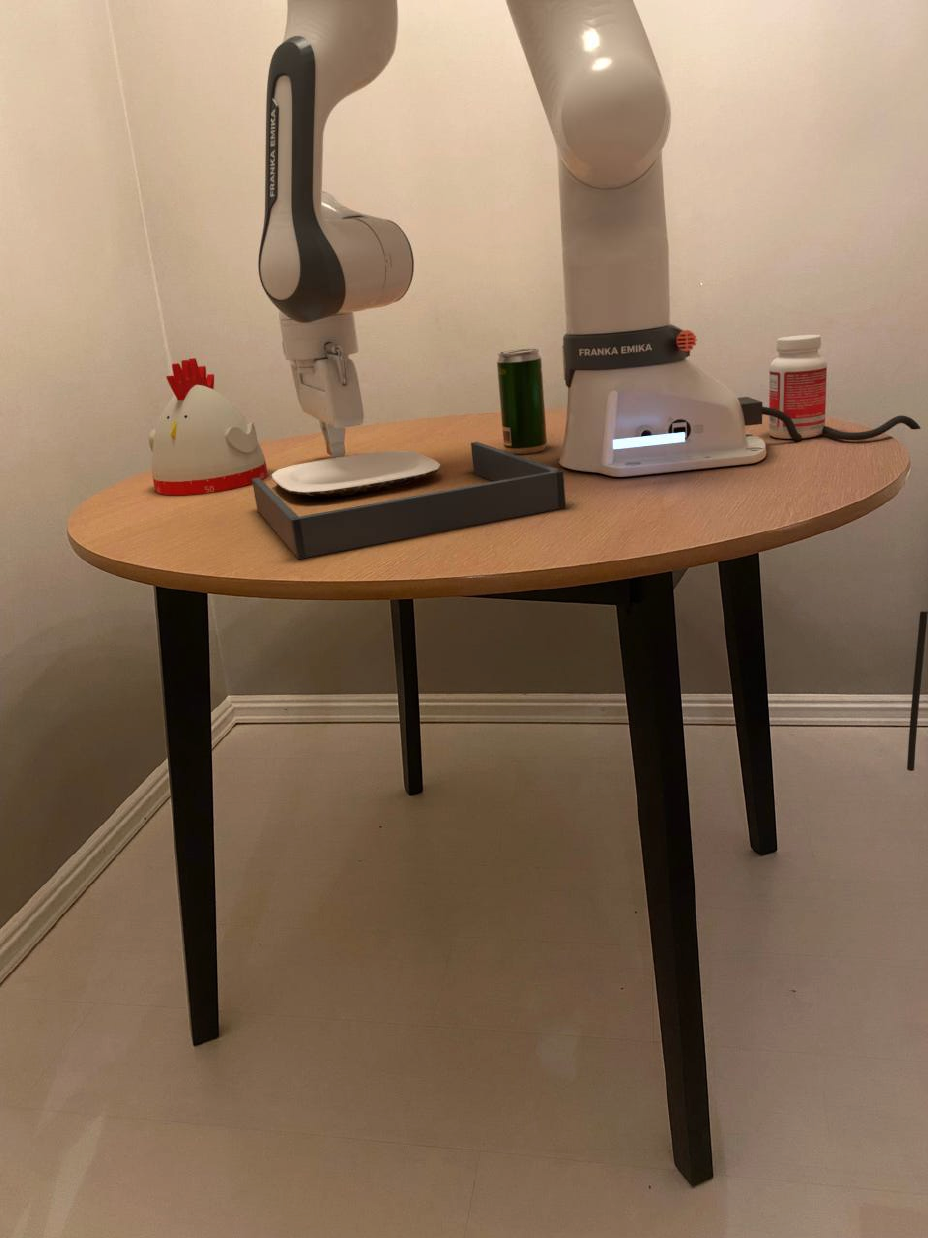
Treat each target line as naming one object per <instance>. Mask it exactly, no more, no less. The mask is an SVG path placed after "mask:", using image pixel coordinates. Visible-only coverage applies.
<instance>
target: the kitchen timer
mask: <svg viewBox="0 0 928 1238" xmlns="http://www.w3.org/2000/svg"><path fill="white" fill-rule="evenodd" d="M180 361H181V362H177V363H171V369H172V374H173V375H166V376H165V377H166V380H167V382H168V385H169V387H170V388H171V390H172V393H173V394H174V395H173V396H172V398H171V399H170V400H169V401H168V402H167V404H166V405H165V406H164V408H163V411H162V412H161V414H160V416H159V419H158V421H157V424H156V427H155V429H152V430H151V431H149V436H148V443H149V448H150V451H151V452H152V453H151V477H152V481H153V485H154V491H155V493H157V494H159V495H165V496H193V495H203V494H204V495H205V494H211V493H218V492H223V491H229V490H234V489H238V488H241V487H246V486H249V485H253V483H252V479H254V478H260V479H261V480H262V481H263V480H264V479H266V478H267V476H268V475H269V474H268V468H267V461H266V457H265V455H264V451H263V449H262V447H261V445H260V443H259V440H258V436H257V430H256V427H255V424H254V423H253V421H250V422H248V419H247V418H246V417H245V416H244V415H243V413H242V412H241V411H240V409H239V408H237V406H235V404H234V403H233V402H232V401H231V400H229V398H227V397H225V396H224V395H223V394H221V393H220V392H219V391H216V390H215V374H214V373H210V374H209V373H208V374H207V367H206V366H205V365H200V366H199V364H198V361H197V358H196V357H194V358H188V359H182V360H180ZM180 363H181V364H180Z"/></svg>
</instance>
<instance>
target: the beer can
mask: <svg viewBox="0 0 928 1238" xmlns="http://www.w3.org/2000/svg"><path fill="white" fill-rule="evenodd" d="M539 352H540V348H521V349H519V348H518V349H511V350H504V351H500V352H497V355H498V358H497V361H496V369H497V380H498V392H499V404H500V416H501V429H502V430H501V431H502V440H503V447H504V449H505V451H506V452H509V453H511V454H514V455H528V454H535V453H539V452H542V451H544V450H545V449H546V446H547V443H548V437H547V436H548V435H547V423H546V422H547V421H546V408H545V394H544V393H545V392H544V380H543V364H542V363H543V362H542V356H541V355H540V353H539Z"/></svg>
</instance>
